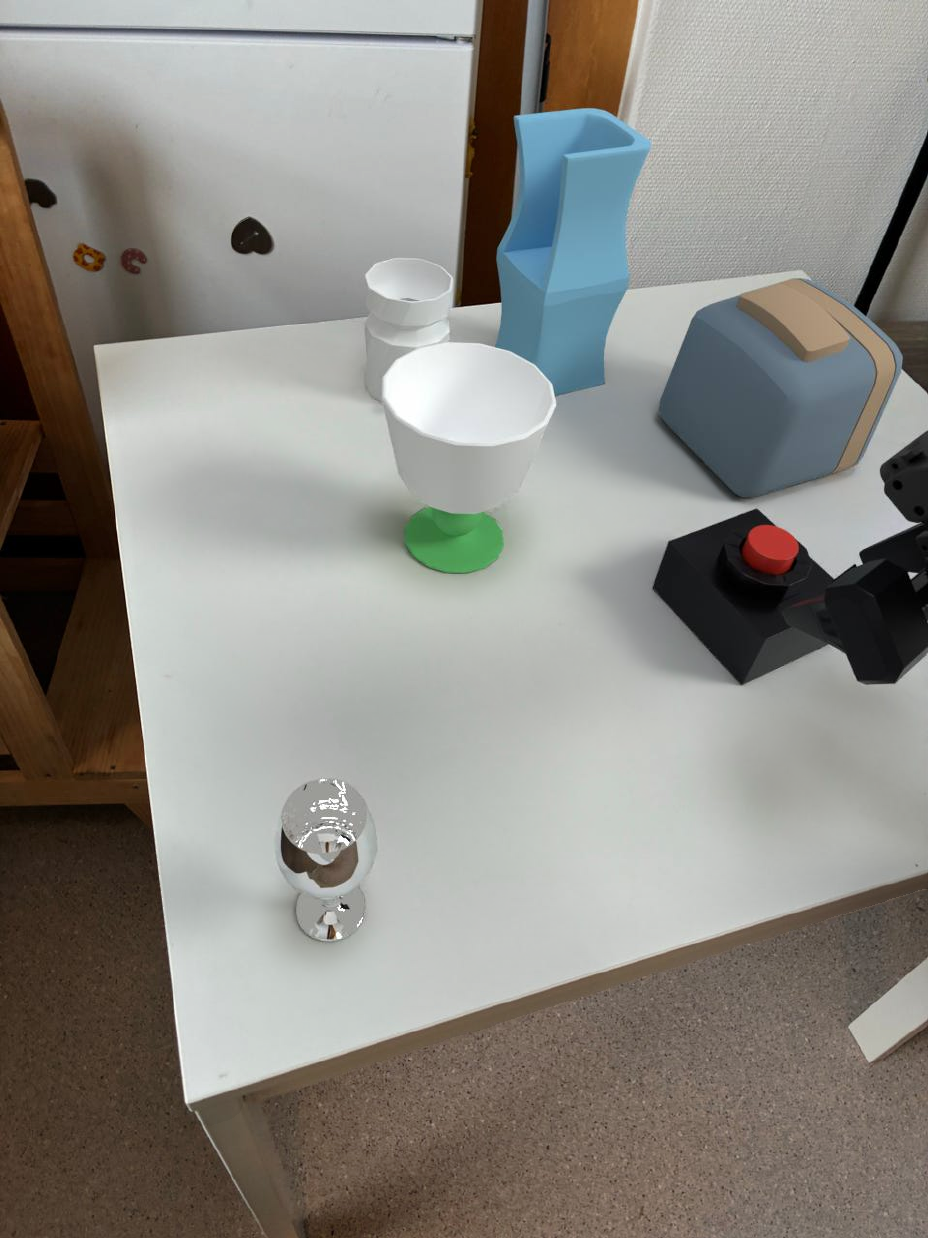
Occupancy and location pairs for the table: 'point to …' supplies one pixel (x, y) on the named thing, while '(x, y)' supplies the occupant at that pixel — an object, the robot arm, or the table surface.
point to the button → (770, 549)
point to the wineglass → (326, 855)
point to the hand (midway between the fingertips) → (825, 586)
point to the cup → (463, 444)
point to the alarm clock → (780, 386)
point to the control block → (738, 597)
